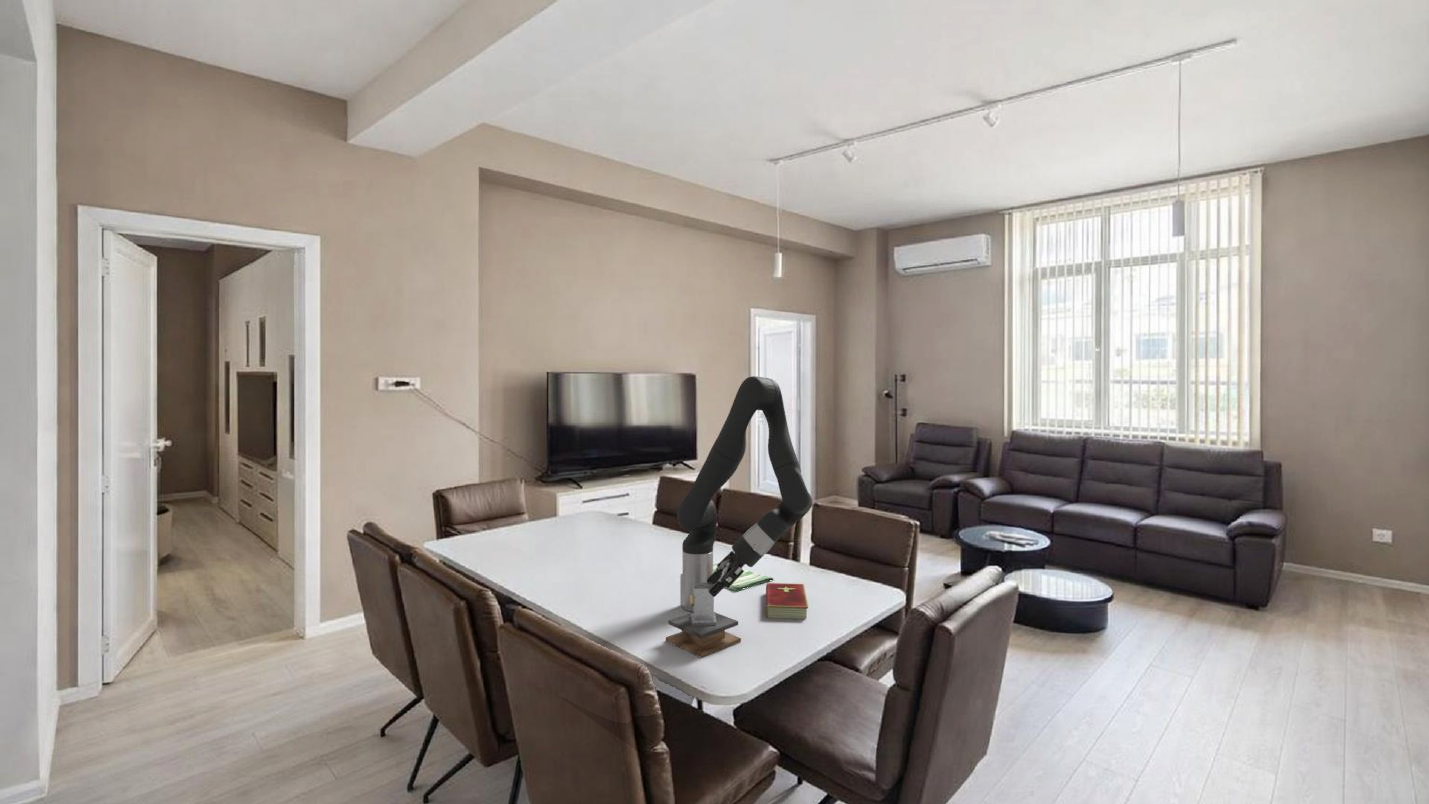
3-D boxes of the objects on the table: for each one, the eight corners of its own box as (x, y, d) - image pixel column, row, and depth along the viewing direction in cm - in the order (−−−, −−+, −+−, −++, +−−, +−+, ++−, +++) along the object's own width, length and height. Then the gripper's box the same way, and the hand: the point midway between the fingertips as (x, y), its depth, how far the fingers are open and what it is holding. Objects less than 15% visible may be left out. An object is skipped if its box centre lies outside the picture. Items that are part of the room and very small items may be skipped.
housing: (689, 616, 176) (689, 582, 176) (714, 616, 177) (714, 581, 176) (690, 625, 170) (690, 589, 169) (716, 625, 170) (716, 589, 170)
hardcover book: (766, 619, 190) (766, 605, 190) (765, 595, 211) (766, 582, 211) (808, 620, 190) (808, 606, 189) (803, 596, 210) (803, 583, 210)
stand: (665, 640, 174) (665, 620, 174) (704, 626, 184) (704, 607, 183) (701, 657, 164) (701, 635, 164) (740, 641, 173) (740, 621, 173)
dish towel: (736, 593, 213) (736, 585, 213) (689, 577, 230) (689, 569, 230) (773, 582, 225) (773, 574, 225) (726, 567, 242) (726, 559, 242)
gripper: (740, 528, 180) (698, 570, 180) (746, 542, 166) (701, 587, 166) (759, 547, 181) (717, 589, 181) (767, 562, 167) (722, 608, 166)
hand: (709, 588), depth 173 cm, fingers open, 8 cm apart
